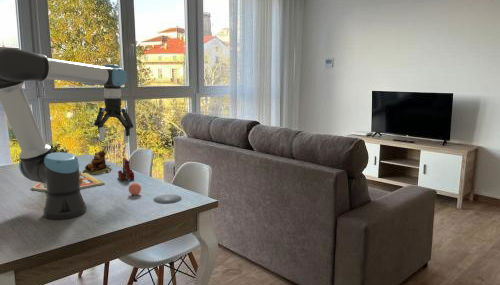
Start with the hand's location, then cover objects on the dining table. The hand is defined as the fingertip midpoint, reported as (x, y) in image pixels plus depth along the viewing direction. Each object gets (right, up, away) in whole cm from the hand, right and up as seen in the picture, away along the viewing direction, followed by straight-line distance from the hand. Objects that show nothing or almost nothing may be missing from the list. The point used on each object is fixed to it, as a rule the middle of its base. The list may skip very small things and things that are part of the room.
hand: (114, 141), depth 182 cm
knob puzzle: (-26, -22, +5) cm, 34 cm away
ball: (+13, -22, -10) cm, 27 cm away
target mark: (+29, -26, -15) cm, 42 cm away
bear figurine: (-20, -17, +30) cm, 40 cm away
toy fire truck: (+1, -20, +16) cm, 26 cm away
